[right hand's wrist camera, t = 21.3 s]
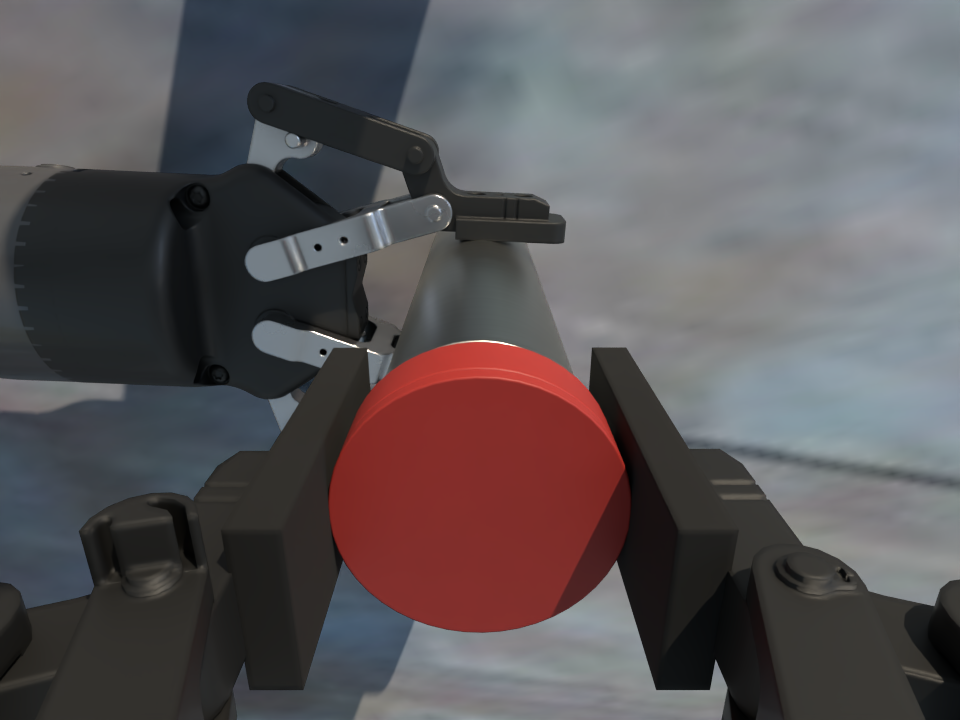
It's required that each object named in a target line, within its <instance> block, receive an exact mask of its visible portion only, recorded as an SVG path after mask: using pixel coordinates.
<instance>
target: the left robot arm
mask: <svg viewBox="0 0 960 720" xmlns="http://www.w3.org/2000/svg"><path fill="white" fill-rule="evenodd" d="M247 104H248V108H249V111H250V113H251V114H252V116H253V117H254V118H255V124H254V129H253V134H252V139H251V145H250V150H249V155H248V160H247V164H242V165H238V166H236V167H234V168H232V169H230V170H229V171H227V172H225V173H223V174H220V175H201V174H179V173H158V172H136V171H114V170H93V169H75V168H73V167H69V166H63V165H55V164H41V165H39V166H36V167H26V166H0V378H3V379H16V380H39V381H67V382H87V383H111V384H137V385H161V386H184V387H203V386H216V385H228V386H233V387H237V388H239V389H242V390H244V391H246V392H248V393H250V394H252V395H254V396H256V397H259V398H262V399H268V401H269V403H270V406H271V408H272V411H273V413H274V416H275V418H276V421H277V423H278V426H279V428H280V430H281V432H282V430H283V428H284V427H285V425H286V423H287V422H288V420H289V419H290V417H291V415H292V414H293V412H294V411H295V409H296V407H297V406H298V404H299V402H300V401H301V399H302V398H303V396H304V394H305V393H304V392H303V391H301V390H300V389H299V387H300V386H302V385H303V384H305V383H306V382H308V381H309V380H311V379H313V378H314V377H316V375H317V373H318V372H319V370H320V369H321V367H322V365H323V364H324V362H325V361H326V359H327V357H328V356H329V354H330V353H331V351H332V349H333V348H368V362H369V376H370V384H377V383H378V382H379V381H380V380H382V379H383V378H384V377H385V376H386V373H387V370H388V367H389V365H390V362H391V359H392V356H393V353H394V351H395V348H396V345H397V342H398V339H399V337H400V334H401V331H400V330H399V329H398V328H397V327H396V326H395V325H393V324H391V323H389V322H386V321H383V320H380V319H377V318H374V317H371V316H368V301H367V298H366V294H365V291H364V288H363V284H362V281H363V277H364V273H365V269H366V265H367V253H371V252H374V251H377V250H380V249H383V248H385V247H387V246H389V245H392V244H395V243H398V242H402V241H405V240H409V239H413V238H416V237H420V236H424V235H427V234H431V233H435V232H438V231H446V232H455V239H456V240H486V241H501V242H524V243H547V244H559V243H564V237H565V227H566V221H565V220H564V218H563V217H562V216H561V215H558V214H551V213H549V208H550V206H549V204H548V203H547V202H546V200H544V199H542V198H539V197H537V196H535V195H533V194H522V193H500V192H477V191H462V190H459V189H457V188H455V187H454V186H453V185H451V184H450V182H449V181H448V180H447V178H446V175H445V173H444V169H443V166H442V163H441V160H440V157H439V148H438V145H437V142H436V141H435V139H434V138H433V137H431V136H430V135H428V134H425V133H422V132H420V131H417V130H414V129H411V128H408V127H406V126H403V125H400V124H397V123H394V122H391V121H389V120H386V119H383V118H380V117H377V116H375V115H372V114H369V113H366V112H363V111H360V110H358V109H355V108H352V107H349V106H346V105H344V104H341V103H338V102H335V101H332V100H329V99H327V98H324V97H321V96H318V95H315V94H313V93H310V92H307V91H304V90H301V89H298V88H296V87H293V86H288V85H283V84H276V83H266V82H263V83H258V84H256V85H255V86H253V87H252V88H251V90H250V91H249V94H248V98H247ZM323 144H324V145H327V146H330V147H333V148H336V149H338V150H341V151H344V152H347V153H350V154H353V155H356V156H359V157H362V158H364V159H367V160H370V161H373V162H376V163H379V164H382V165H385V166H388V167H390V168H393V169H396V170H399V171H402V172H403V175H404V178H405V181H406V184H407V187H408V190H409V193H410V194H407V195H404V196H400V197H396V198H393V199H388V200H382V201H378V202H374V203H371V204H367V205H364V206H360V207H356V208H353V209H349V210H346V211H342V212H338V211H337V210H335V209H334V208H333V207H331V206H330V205H329V204H327V203H326V202H325V201H323V200H322V199H321V198H319V197H318V196H317V195H316V194H314V193H313V192H312V191H310V190H309V189H308V188H306V187H305V186H304V185H302V184H301V183H300V182H298V181H297V180H296V179H294V178H293V177H292V176H290V175H289V174H288V173H286V172H285V171H284V170H283V169H282V168H283V165H284V163H285V162H286V161H287V160H288V159H289V158H298V159H303V158H308V157H312V156H314V155H316V154H317V153H319V151H320V150H321V149H322V146H323ZM364 331H365V332H364Z"/></svg>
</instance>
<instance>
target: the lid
mask: <svg viewBox="0 0 960 720" xmlns="http://www.w3.org/2000/svg"><path fill="white" fill-rule="evenodd" d="M631 497H632V495H631V488H630V482H629V477H628V474H627V471H626V468H625V465H624V462H623V459H622V457H621V454H620V452H619V449H618V447H617V445H616V442H615V440H614V437H613V435H612V432H611V430H610V428H609V425H608V423H607V420H606V418H605V416H604V414H603V412H602V410H601V408H600V406H599V404H598V403H597V401H596V400H595V399H594V397H593V396H592V394H591V393H590V391H589V390H588V389H587V388H586V387H585V386H584V385H583V384H582V383H581V382H580V381H579V380H578V379H577V378H576V377H575V376H574V375H572V374H571V373H570V372H569V371H567V370H566V369H565V368H564V367H562V366H560V365H559V364H557V363H555V362H554V361H552V360H551V359H549V358H547V357H544V356H542V355H540V354H538V353H535V352H533V351H530V350H527V349H524V348H520V347H517V346H513V345H507V344H501V343H492V342H469V343H457V344H453V345H448V346H443V347H439V348H436V349H433V350H430V351H427V352H424V353H421V354H419V355H417V356H415V357H413V358H411V359H409V360H407V361H405V362H404V363H402V364H401V365H399V366H398V367H396V368H395V369H393V370H392V371H391V372H389V373H388V374H387V375H386V376H385V377H384V378H383V379H382V380H380V381H379V382H378V383H377V384H376V386H375V387H374V388H373V389H372V390H371V391H370V393H369V394H368V395H367V396H366V398H365V400H364V401H363V403H362V404H361V406H360V407H359V409H358V411H357V413H356V416H355V418H354V420H353V423H352V425H351V427H350V430H349V432H348V435H347V437H346V439H345V442H344V444H343V447H342V449H341V452H340V454H339V457H338V459H337V461H336V464H335V466H334V469H333V473H332V477H331V481H330V485H329V495H328V506H329V516H330V525H331V531H332V535H333V538H334V541H335V543H336V546H337V549H338V551H339V553H340V555H341V557H342V558H343V560H344V562H345V564H346V566H347V567H348V568H349V570H350V571H351V573H352V574H353V575H354V577H355V578H356V579H357V580H358V581H359V582H360V583H361V584H362V585H363V587H364V588H365V589H366V590H367V591H368V592H370V593H371V594H372V595H373V596H375V597H376V598H377V599H378V600H379V601H381V602H382V603H384V604H385V605H387V606H388V607H390V608H391V609H393V610H395V611H396V612H398V613H400V614H402V615H404V616H407V617H409V618H411V619H413V620H416V621H418V622H421V623H424V624H427V625H430V626H434V627H438V628H442V629H446V630H453V631H461V632H479V633H485V632H500V631H506V630H512V629H518V628H522V627H525V626H529V625H533V624H536V623H539V622H541V621H544V620H546V619H549V618H551V617H554V616H555V615H557V614H559V613H561V612H563V611H565V610H567V609H569V608H570V607H571V606H573V605H574V604H576V603H577V602H579V601H580V600H582V599H583V598H584V597H585V596H586V595H588V594H589V593H590V592H591V591H592V590H593V589H594V588H595V587H596V586H597V585H598V584H599V583H600V582H601V581H602V580H603V578H604V577H605V576H606V575H607V574H608V572H609V571H610V569H611V568H612V566H613V565H614V563H615V562H616V560H617V558H618V556H619V554H620V552H621V550H622V548H623V546H624V543H625V540H626V536H627V533H628V530H629V521H630V512H631Z"/></svg>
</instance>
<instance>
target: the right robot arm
mask: <svg viewBox="0 0 960 720" xmlns="http://www.w3.org/2000/svg"><path fill="white" fill-rule="evenodd" d="M370 391H371V390H370V376H369V362H368V348H333V349H332V351H331V353H330V354H329V356H328V357H327V359H326V361H325V362H324V364H323V365H322V367H321V369H320V370H319V372H318V373H317V375H316V377H315V378H314V380H313V382H312V383H311V385H310V386H309V388H308V390H307V391H306V393H305V394H304V396H303V398H302V399H301V401H300V402H299V404H298V406H297V407H296V409H295V411H294V412H293V414H292V415H291V417H290V419H289V420H288V422H287V423H286V425H285V427H284V428H283V430H282V432H281V433H280V435H279V436H278V438H277V440H276V441H275V443H274V444H273V446H272V448H271V449H270V451H239V452H238V453H236V454H235V455H233V456H232V457H230V458H229V459H227V460H226V461H224V462H223V463H221V464H220V465H218V466H217V468H216V469H215V470H214V472H213V473H212V474H211V476H210V477H209V478H208V480H207V481H206V482H205V486H204V487H202V488H201V489H200V490H199V492H198V493H197V495H196V496H195V497H194V502H193V501H192V500H191V499H190V498H189V497H187V496H184V495H179V494H175V493H150V494H146V495H141V496H136V497H132V498H128V499H126V500H123V501H121V502H118V503H116V504H113V505H111V506H108V507H107V508H105V509H104V510H102V511H101V512H99V513H97V514H96V515H94V516H93V517H91V518H90V519H89V520H88V521H87V522H86V524H85V525H84V526H83V527H82V528H81V529H80V531H79V533H80V537H81V540H82V544H83V547H84V551H85V554H86V558H87V562H88V565H89V569H90V572H91V576H92V579H93V583H94V588H93V591H92V593H91V594H90V595H86V596H83V597H79V598H75V599H71V600H66V601H61V602H57V603H52V604H47V605H43V606H38V607H34V608H29V609H26V608H25V605H24V602H23V599H22V596H21V593H20V591H18V590H17V589H16V588H15V587H14V586H12V585H11V584H8V583H1V582H0V720H237V713H236V706H235V699H234V694H233V687H234V684H235V682H236V680H237V677H238V675H239V673H240V670H241V668H242V666H243V663H244V661H245V667H246V672H247V678H248V683H249V689H250V690H303V689H304V686H305V683H306V679H307V676H308V673H309V669H310V666H311V663H312V660H313V656H314V653H315V650H316V647H317V643H318V640H319V637H320V633H321V630H322V627H323V624H324V620H325V617H326V614H327V610H328V607H329V604H330V601H331V597H332V594H333V591H334V588H335V584H336V581H337V578H338V574H339V571H340V568H341V565H342V561H343V558H342V557H341V555H340V553H339V551H338V549H337V546H336V543H335V541H334V538H333V535H332V531H331V525H330V516H329V506H328V495H329V485H330V481H331V477H332V473H333V469H334V466H335V464H336V461H337V459H338V457H339V454H340V452H341V449H342V447H343V444H344V442H345V439H346V437H347V435H348V432H349V430H350V427H351V425H352V423H353V420H354V418H355V416H356V413H357V411H358V409H359V407H360V406H361V404H362V403H363V401H364V400H365V398H366V396H367V395H368V394H369V393H370ZM589 391H590V393H591V394H592V396H593V397H594V399H595V400H596V401H597V403H598V404H599V406H600V408H601V410H602V412H603V414H604V416H605V418H606V420H607V423H608V425H609V428H610V430H611V432H612V435H613V437H614V440H615V442H616V445H617V447H618V449H619V452H620V454H621V457H622V459H623V462H624V465H625V468H626V471H627V474H628V477H629V482H630V488H631V495H632V497H631V512H630V521H629V530H628V533H627V536H626V540H625V543H624V546H623V548H622V550H621V552H620V554H619V556H618V558H617V563H618V566H619V569H620V572H621V576H622V579H623V582H624V586H625V589H626V592H627V595H628V599H629V602H630V605H631V609H632V612H633V615H634V618H635V622H636V625H637V628H638V631H639V635H640V638H641V641H642V645H643V648H644V651H645V654H646V658H647V661H648V664H649V668H650V671H651V674H652V677H653V681H654V684H655V687H656V690H710V687H711V681H712V676H713V670H714V665H715V659H716V661H717V663H718V666H719V668H720V670H721V673H722V675H723V677H724V680H725V682H726V684H727V687H728V689H727V694H726V699H725V705H724V710H723V715H722V720H960V580H954V581H949V582H948V583H947V584H946V585H945V586H943V587H942V588H941V589H940V592H939V594H938V597H937V600H936V603H935V606H930V605H925V604H921V603H916V602H911V601H907V600H902V599H897V598H893V597H888V596H884V595H880V594H876V593H873V592H869V591H868V590H867V587H866V585H865V584H864V583H863V581H862V580H861V578H860V577H859V576H858V574H857V573H856V572H855V571H854V570H853V569H851V568H850V567H849V566H847V565H846V564H845V563H843V562H842V561H841V560H839V559H838V558H836V557H833V556H831V555H829V554H827V553H825V552H823V551H821V550H818V549H814V548H810V547H806V546H803V545H802V543H801V542H800V541H799V539H798V538H797V537H796V535H795V534H794V533H793V531H792V530H791V529H790V527H789V526H788V525H787V523H786V522H785V520H784V519H783V518H782V516H781V515H780V514H779V512H778V511H777V510H776V508H775V507H774V506H773V504H772V503H771V502H770V500H767V499H766V495H765V494H764V492H763V491H762V490H761V488H760V487H759V486H758V485H756V484H755V480H754V479H753V478H752V476H751V475H750V474H749V472H748V471H747V470H746V468H745V467H744V465H743V464H742V463H740V462H739V461H737V460H736V459H734V458H733V457H731V456H730V455H728V454H727V453H725V452H724V451H722V450H720V449H689V448H688V447H687V445H686V443H685V442H684V440H683V439H682V437H681V435H680V434H679V432H678V431H677V429H676V427H675V426H674V424H673V423H672V421H671V419H670V418H669V416H668V414H667V413H666V411H665V410H664V408H663V406H662V405H661V403H660V402H659V400H658V398H657V397H656V395H655V393H654V392H653V390H652V389H651V387H650V385H649V384H648V382H647V381H646V379H645V377H644V376H643V374H642V373H641V371H640V369H639V368H638V366H637V364H636V363H635V361H634V360H633V358H632V356H631V355H630V353H629V352H628V350H627V348H592V356H591V370H590V385H589Z"/></svg>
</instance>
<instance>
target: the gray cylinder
mask: <svg viewBox="0 0 960 720" xmlns="http://www.w3.org/2000/svg"><path fill="white" fill-rule="evenodd" d="M469 342H492V343H501V344H507V345H513V346H517V347H520V348H524V349H527V350H530V351H533V352H535V353H538V354H540V355H542V356H544V357H547V358H549V359H551V360H552V361H554V362H555V363H557V364H559V365H560V366H562V367H564V368H565V369H566V370H567V371H569V372H570V373H571V374H572V375H573V372H572V369H571V366H570V364H569V361H568V358H567V355H566V352H565V350H564V347H563V344H562V341H561V338H560V336H559V333H558V330H557V327H556V324H555V322H554V319H553V316H552V313H551V310H550V308H549V305H548V302H547V299H546V297H545V294H544V291H543V288H542V285H541V283H540V280H539V277H538V274H537V271H536V269H535V266H534V263H533V260H532V257H531V255H530V252H529V249H528V246H527V243H524V242H501V241H486V240H456V239H455V232H446V231H438V233H437V234H436V236H435V238H434V241H433V244H432V247H431V250H430V253H429V255H428V258H427V261H426V264H425V267H424V269H423V272H422V275H421V278H420V281H419V283H418V286H417V289H416V292H415V295H414V297H413V300H412V303H411V306H410V309H409V311H408V314H407V317H406V320H405V323H404V325H403V328H402V331H401V334H400V337H399V339H398V342H397V345H396V348H395V351H394V353H393V356H392V359H391V362H390V365H389V367H388V370H387V373H386V375H387V374H388V373H389V372H391V371H392V370H393V369H395V368H396V367H398V366H399V365H401V364H402V363H404V362H405V361H407V360H409V359H411V358H413V357H415V356H417V355H419V354H421V353H424V352H427V351H430V350H433V349H436V348H439V347H443V346H448V345H453V344H457V343H469Z"/></svg>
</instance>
